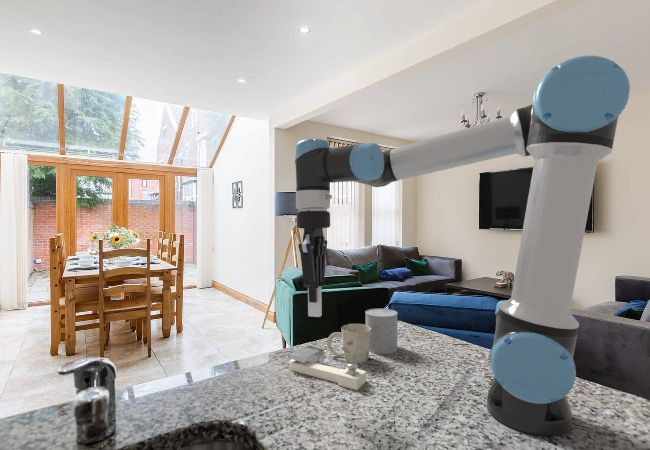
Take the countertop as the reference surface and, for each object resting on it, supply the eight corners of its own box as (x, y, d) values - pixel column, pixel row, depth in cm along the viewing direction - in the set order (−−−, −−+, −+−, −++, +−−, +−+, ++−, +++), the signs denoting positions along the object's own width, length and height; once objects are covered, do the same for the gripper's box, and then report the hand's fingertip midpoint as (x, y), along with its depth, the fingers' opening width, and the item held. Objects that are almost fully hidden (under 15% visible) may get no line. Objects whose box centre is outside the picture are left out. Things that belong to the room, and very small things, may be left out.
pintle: (359, 383, 86) (359, 363, 86) (354, 388, 84) (354, 367, 84) (350, 381, 88) (350, 361, 88) (344, 385, 85) (344, 364, 85)
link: (366, 381, 87) (366, 371, 87) (356, 390, 82) (356, 379, 82) (296, 364, 97) (296, 354, 97) (285, 370, 93) (285, 360, 93)
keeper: (323, 368, 98) (323, 348, 98) (304, 380, 91) (303, 358, 91) (309, 364, 101) (309, 345, 101) (288, 375, 94) (288, 354, 94)
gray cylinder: (400, 359, 104) (400, 316, 104) (367, 359, 104) (366, 316, 104) (394, 347, 114) (394, 308, 114) (363, 347, 114) (363, 308, 114)
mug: (370, 371, 96) (370, 333, 96) (323, 367, 99) (323, 330, 99) (372, 359, 104) (372, 324, 104) (329, 356, 107) (329, 322, 107)
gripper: (320, 209, 74) (321, 325, 74) (337, 210, 87) (338, 309, 87) (286, 210, 76) (288, 322, 77) (307, 211, 89) (309, 308, 89)
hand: (315, 315), depth 82 cm, fingers closed
